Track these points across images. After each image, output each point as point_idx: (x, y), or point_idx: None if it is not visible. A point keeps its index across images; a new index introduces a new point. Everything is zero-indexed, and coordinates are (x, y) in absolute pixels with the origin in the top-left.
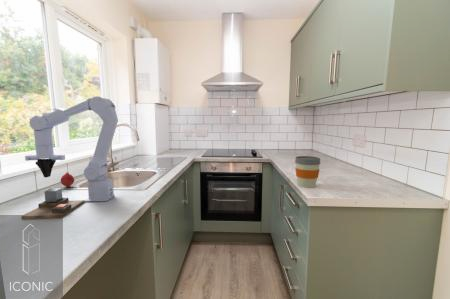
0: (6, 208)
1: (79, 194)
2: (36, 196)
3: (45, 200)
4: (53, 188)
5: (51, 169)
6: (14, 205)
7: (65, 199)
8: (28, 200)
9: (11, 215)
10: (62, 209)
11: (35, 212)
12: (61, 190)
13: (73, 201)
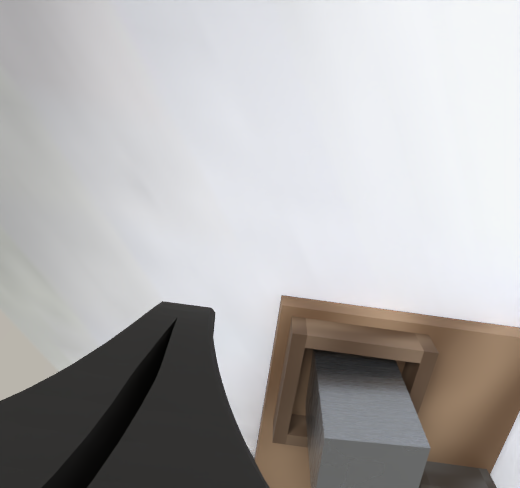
0: (28, 326)
1: (450, 68)
2: (25, 46)
3: (308, 439)
4: (353, 444)
5: (217, 386)
6: (31, 276)
7: (426, 384)
8: (44, 171)
9: None
10: None
11: (295, 483)
12: (421, 432)
13: (469, 350)
